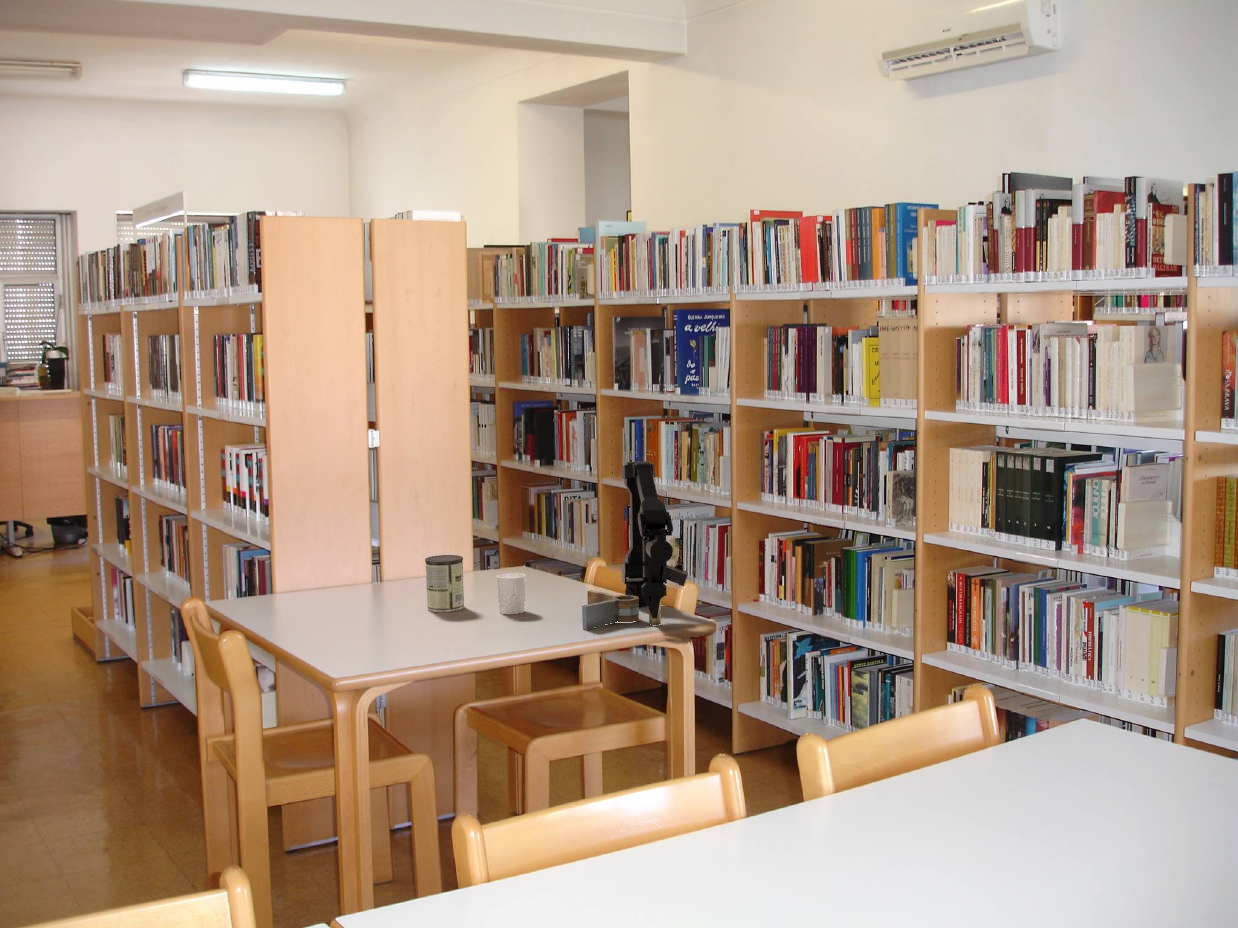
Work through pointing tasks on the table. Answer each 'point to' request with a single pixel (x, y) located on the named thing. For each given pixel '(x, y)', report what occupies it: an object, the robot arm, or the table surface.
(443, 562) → the coffee can
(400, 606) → the table surface
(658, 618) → the brass pin
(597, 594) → the tan hinge leaf
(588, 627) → the slate leaf
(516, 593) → the white cup
